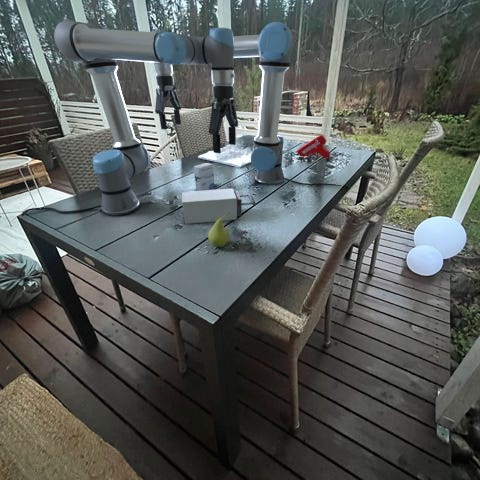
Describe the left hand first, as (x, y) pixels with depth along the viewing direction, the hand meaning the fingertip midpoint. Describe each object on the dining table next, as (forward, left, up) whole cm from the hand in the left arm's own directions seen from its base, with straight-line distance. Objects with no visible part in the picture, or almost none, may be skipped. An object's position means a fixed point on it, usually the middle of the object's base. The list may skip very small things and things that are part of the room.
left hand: (225, 148), depth 105 cm
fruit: (+4, -30, -25) cm, 39 cm away
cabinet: (-5, -9, -25) cm, 27 cm away
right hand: (-33, +27, +2) cm, 43 cm away
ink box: (-15, +18, -25) cm, 35 cm away
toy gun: (+39, +81, -25) cm, 93 cm away
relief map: (-14, +74, -25) cm, 79 cm away
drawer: (0, -7, -24) cm, 25 cm away
